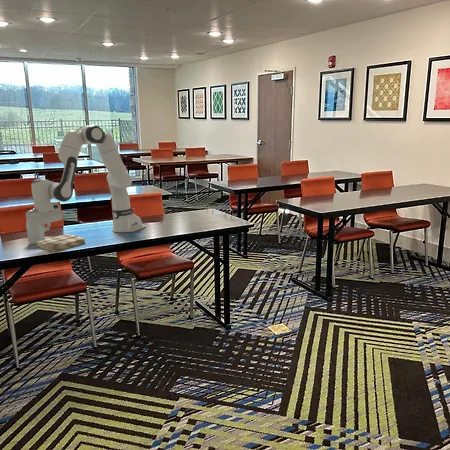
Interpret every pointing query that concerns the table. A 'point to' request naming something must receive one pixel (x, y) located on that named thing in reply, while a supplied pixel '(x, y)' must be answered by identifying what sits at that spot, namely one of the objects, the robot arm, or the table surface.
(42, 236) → the supplement box
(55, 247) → the laid board
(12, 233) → the table surface
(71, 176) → the robot arm
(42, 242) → the tan quilted pad
